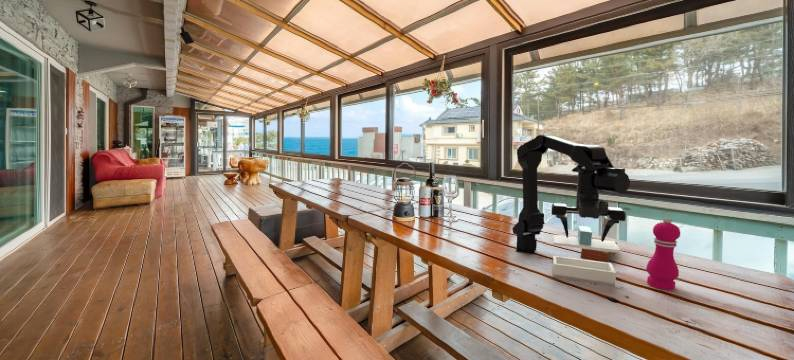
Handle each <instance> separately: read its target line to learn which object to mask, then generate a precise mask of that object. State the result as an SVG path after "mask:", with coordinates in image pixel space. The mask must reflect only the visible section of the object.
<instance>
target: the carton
mask: <svg viewBox="0 0 794 360" xmlns="http://www.w3.org/2000/svg"><path fill="white" fill-rule="evenodd" d="M592 239H598V240H601V238H600V237H599V238H598V237H592ZM606 240H607V241H611V240H608V239H606ZM614 242H615V243H616V245H617V246H618V243H617V241H614ZM580 250H581V251H580V252H581V253H580V259H584V260H591V261H599V262H607V263H610V260H611V259H612V258H613V257H614V255H615V252H607V251H599V250H590V249H582V248H581V249H580Z"/></svg>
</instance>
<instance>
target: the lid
mask: <svg viewBox="0 0 794 360" xmlns="http://www.w3.org/2000/svg"><path fill="white" fill-rule="evenodd" d="M592 236H593V231H592V229H591V226H581V225H578V229H577V236H569V235H568V238H566V235H560V234H552V245H553V246H558V247H566V248H575V249H581V250H582V249H590V250H599V251H607V252H615V253H616V254H620V253H621V249H620V247H619V245H618V244H617V245H616V243H615V242H616V241H615V240H610V241H607V240H608V239H604V241H603V242H602V241H601V240H598V239H592V238H593V237H592Z"/></svg>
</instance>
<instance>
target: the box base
mask: <svg viewBox="0 0 794 360" xmlns="http://www.w3.org/2000/svg"><path fill="white" fill-rule="evenodd" d="M552 256H553V257H552V277H553V278H560V279H566V280H573V281H578V282H585V283H591V284H597V285H604V286H610V287H615V286H616V278H617V272H616V269H615V268H614V265H613V264H612V263H611V262H608V263H607V262H599V261H593V260H589V259H584V258H575V257H568V256H560V255H559V256H558V255H552Z"/></svg>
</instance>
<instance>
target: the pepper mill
mask: <svg viewBox="0 0 794 360" xmlns="http://www.w3.org/2000/svg"><path fill="white" fill-rule="evenodd" d="M652 233H653V235H654V236H655V237H654V238H653V240H654V241H653V243H654V244H655V250H654V254H653V255H652V256H651V258H650V259H649V260H648V262H647V264H646V268H645V269H646V273H648V276H647V277H646V283H647V285H649V286H651V287H653V288H655V289H659V290H662V291H673V290H675V289H676V281H675V280H676V279H678V277H679V275H680V273H679V271H680V269H679V267H678V265H677V263H676V261H675V256H674V250H675V248H676V247H677V246H678V245H677V243H678V242H677V240H678V239H679V238H680V237H681V229H680V228H679V227H678V226H677V225H676V224H674V223H672V218H671V217H667V216H666V217H664V218H663V221H660V222H657V223H656V224H655V225H654V226H653V228H652Z"/></svg>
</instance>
